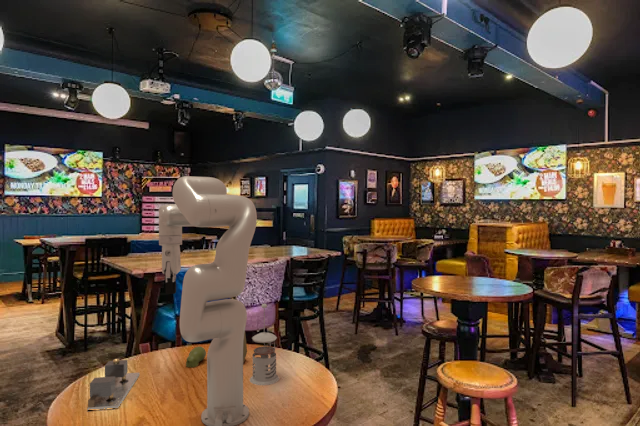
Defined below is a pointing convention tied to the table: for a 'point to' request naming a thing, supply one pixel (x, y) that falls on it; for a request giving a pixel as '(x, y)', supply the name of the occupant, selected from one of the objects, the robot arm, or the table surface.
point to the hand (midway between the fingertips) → (170, 293)
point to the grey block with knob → (116, 369)
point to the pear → (195, 356)
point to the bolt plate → (118, 392)
